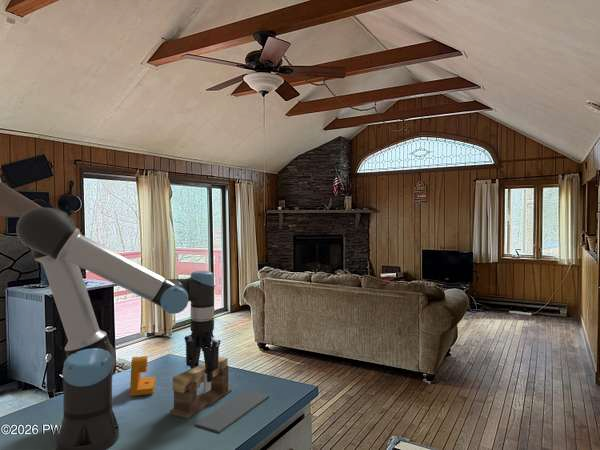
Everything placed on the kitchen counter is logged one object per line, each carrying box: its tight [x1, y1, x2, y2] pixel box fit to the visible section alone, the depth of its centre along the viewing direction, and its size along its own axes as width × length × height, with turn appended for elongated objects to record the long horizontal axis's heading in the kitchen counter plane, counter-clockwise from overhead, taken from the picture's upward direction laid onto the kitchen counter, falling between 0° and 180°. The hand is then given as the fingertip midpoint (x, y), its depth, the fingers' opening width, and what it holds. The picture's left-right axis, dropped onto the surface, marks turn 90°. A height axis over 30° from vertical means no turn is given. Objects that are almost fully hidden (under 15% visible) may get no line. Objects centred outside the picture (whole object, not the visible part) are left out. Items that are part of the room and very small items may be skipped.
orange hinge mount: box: [129, 355, 157, 397], centre depth 143 cm, size 11×7×12 cm, turn 15°
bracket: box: [169, 365, 233, 419], centre depth 134 cm, size 22×7×10 cm, turn 153°
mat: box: [194, 390, 270, 434], centre depth 128 cm, size 26×9×1 cm, turn 152°
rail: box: [172, 356, 229, 393], centre depth 134 cm, size 22×4×4 cm, turn 152°
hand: (201, 389), depth 134 cm, fingers closed on rail, 4 cm apart
